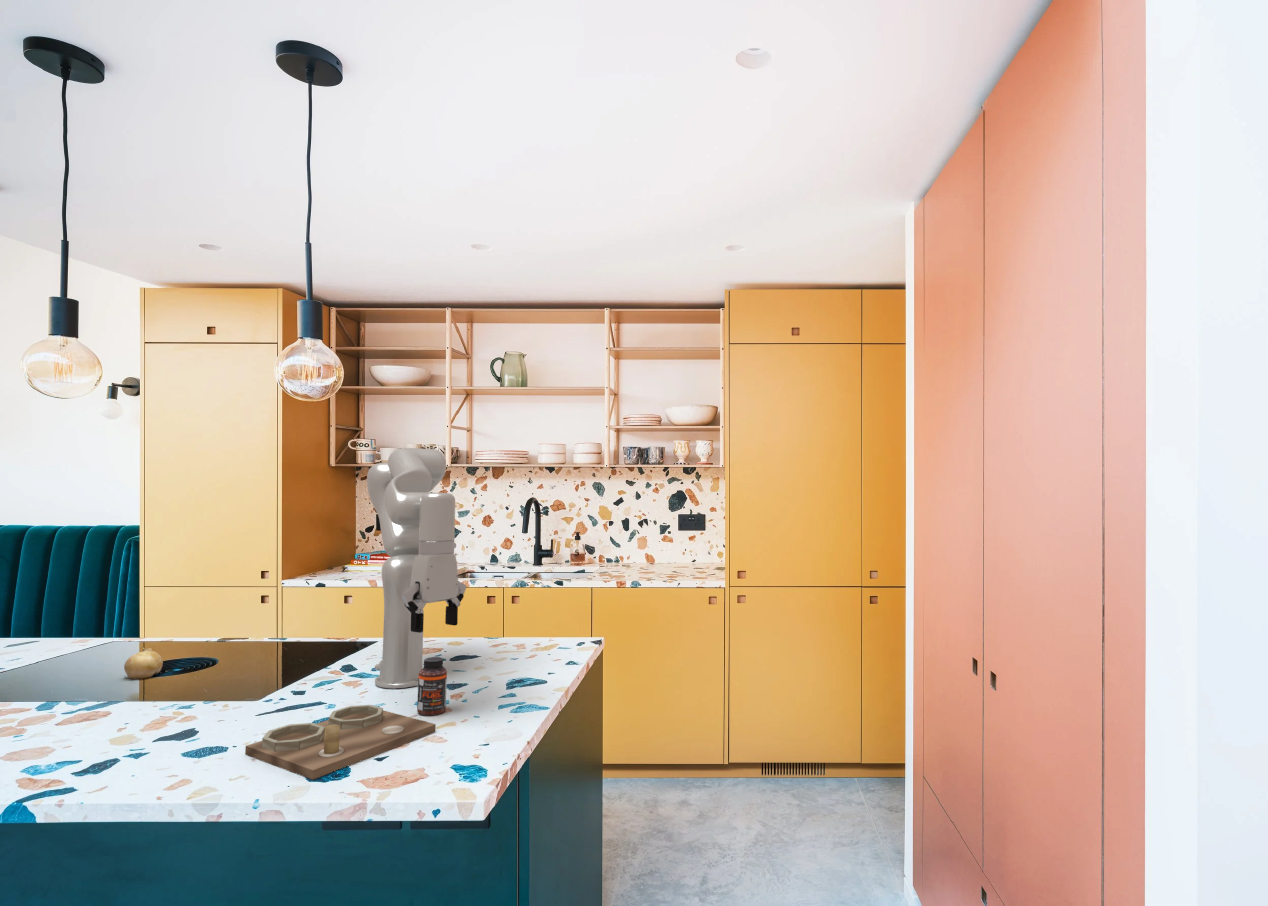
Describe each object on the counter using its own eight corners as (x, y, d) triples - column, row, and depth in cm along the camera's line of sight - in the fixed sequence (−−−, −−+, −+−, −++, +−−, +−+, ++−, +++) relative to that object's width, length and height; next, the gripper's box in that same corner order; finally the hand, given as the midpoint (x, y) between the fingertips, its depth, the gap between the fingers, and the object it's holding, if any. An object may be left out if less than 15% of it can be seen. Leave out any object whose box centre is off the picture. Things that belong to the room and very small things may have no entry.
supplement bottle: (419, 718, 137) (421, 663, 138) (414, 709, 142) (416, 657, 143) (448, 714, 140) (449, 660, 140) (442, 706, 145) (444, 654, 146)
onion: (167, 676, 167) (169, 647, 168) (131, 683, 161) (133, 653, 161) (154, 671, 172) (155, 643, 172) (117, 678, 165) (119, 649, 166)
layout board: (245, 754, 117) (246, 720, 117) (369, 714, 139) (370, 685, 140) (312, 779, 107) (314, 742, 107) (435, 731, 129) (436, 700, 129)
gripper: (453, 546, 153) (452, 620, 151) (392, 550, 138) (390, 633, 136) (477, 547, 149) (475, 623, 147) (416, 551, 134) (414, 636, 133)
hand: (434, 628), depth 142 cm, fingers open, 9 cm apart
